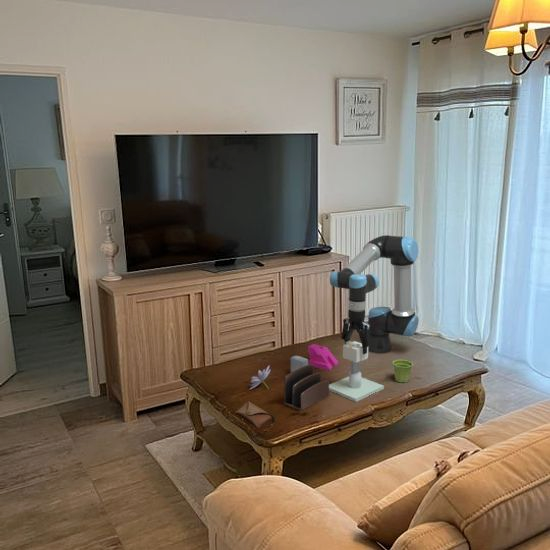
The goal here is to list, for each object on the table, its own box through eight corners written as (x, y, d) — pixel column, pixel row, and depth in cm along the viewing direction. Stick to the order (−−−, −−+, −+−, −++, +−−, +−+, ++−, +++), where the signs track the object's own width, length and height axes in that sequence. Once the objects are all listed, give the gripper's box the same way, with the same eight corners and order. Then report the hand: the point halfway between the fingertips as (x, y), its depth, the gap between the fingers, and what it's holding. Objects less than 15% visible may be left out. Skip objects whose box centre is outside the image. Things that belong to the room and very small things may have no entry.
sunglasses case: (232, 412, 238) (239, 397, 239) (244, 415, 242) (250, 401, 243) (258, 428, 224) (265, 412, 225) (270, 432, 229) (276, 416, 229)
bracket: (308, 365, 287) (308, 346, 285) (317, 359, 296) (317, 340, 294) (329, 370, 281) (329, 351, 279) (338, 363, 290) (338, 345, 287)
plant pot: (398, 374, 276) (399, 358, 274) (415, 380, 269) (416, 363, 267) (387, 380, 269) (388, 363, 267) (404, 386, 263) (405, 368, 261)
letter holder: (283, 404, 245) (283, 374, 242) (311, 390, 259) (312, 361, 256) (301, 411, 239) (301, 380, 235) (329, 396, 253) (329, 366, 250)
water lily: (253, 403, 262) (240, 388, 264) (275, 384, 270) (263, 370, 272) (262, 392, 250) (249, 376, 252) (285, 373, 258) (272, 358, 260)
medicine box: (308, 375, 275) (308, 359, 273) (302, 378, 272) (302, 361, 270) (296, 371, 280) (296, 355, 278) (290, 374, 277) (290, 357, 275)
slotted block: (354, 353, 262) (354, 340, 260) (367, 358, 256) (368, 344, 255) (342, 357, 256) (343, 344, 255) (356, 362, 251) (357, 348, 249)
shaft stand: (353, 377, 273) (354, 347, 269) (383, 388, 260) (385, 358, 256) (325, 389, 260) (325, 358, 256) (355, 402, 247) (356, 369, 243)
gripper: (333, 306, 256) (332, 353, 261) (370, 316, 241) (368, 366, 246) (344, 303, 261) (343, 349, 266) (381, 312, 246) (379, 361, 251)
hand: (355, 357), depth 256 cm, fingers closed on slotted block, 8 cm apart
